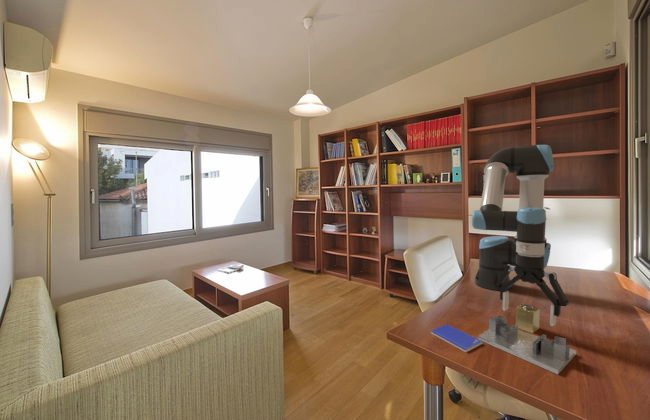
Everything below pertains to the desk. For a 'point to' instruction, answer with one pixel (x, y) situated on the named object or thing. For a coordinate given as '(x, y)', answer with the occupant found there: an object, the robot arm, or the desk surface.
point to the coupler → (527, 317)
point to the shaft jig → (528, 345)
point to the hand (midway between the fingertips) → (527, 316)
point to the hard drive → (456, 338)
